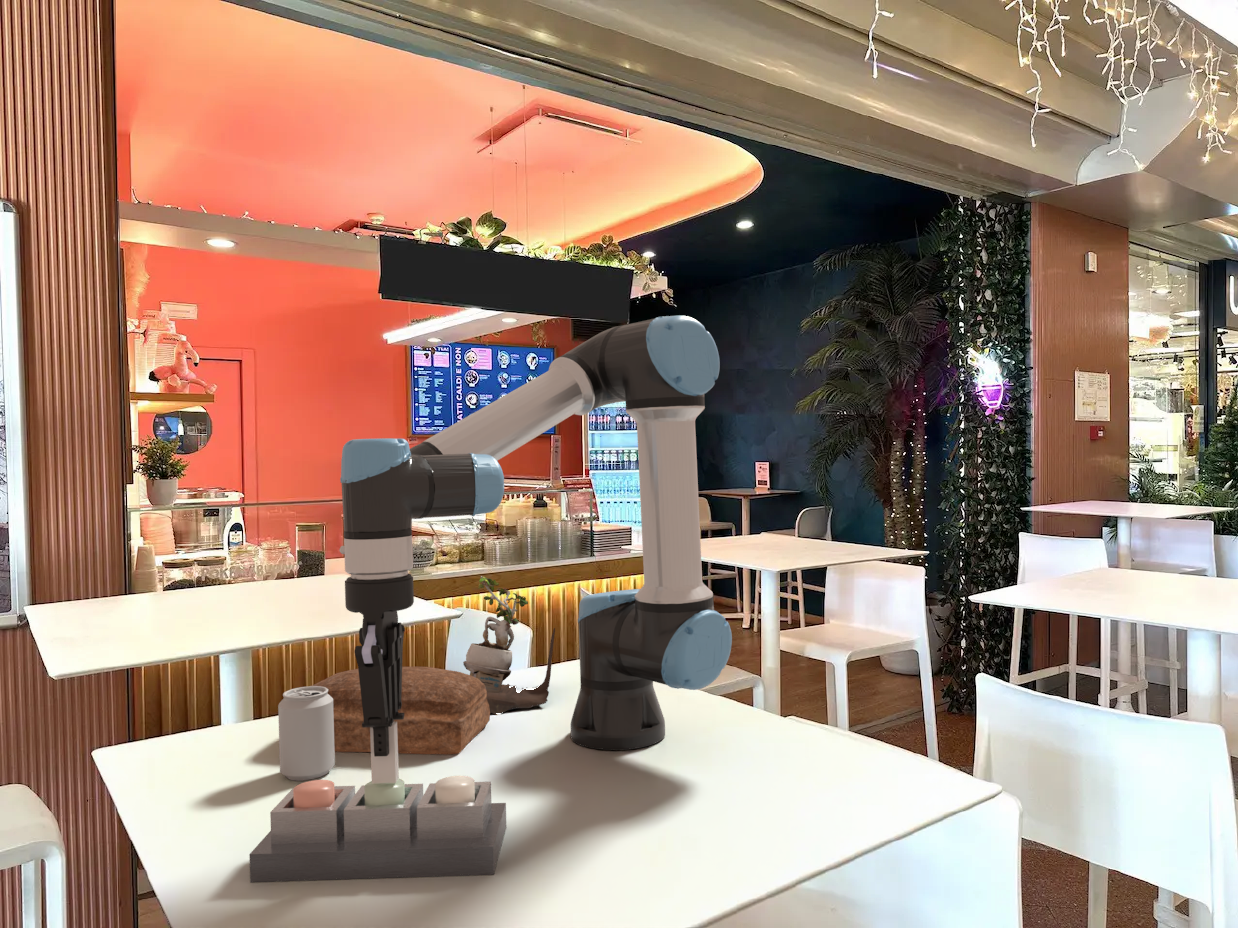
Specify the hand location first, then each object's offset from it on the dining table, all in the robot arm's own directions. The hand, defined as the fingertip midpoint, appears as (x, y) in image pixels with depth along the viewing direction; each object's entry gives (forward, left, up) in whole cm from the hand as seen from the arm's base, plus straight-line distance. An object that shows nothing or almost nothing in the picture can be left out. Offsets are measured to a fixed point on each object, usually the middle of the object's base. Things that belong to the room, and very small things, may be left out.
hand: (385, 780), depth 100 cm
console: (0, 0, -8) cm, 8 cm away
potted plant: (-5, -64, -9) cm, 65 cm away
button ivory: (-8, 0, -5) cm, 9 cm away
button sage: (0, 0, -5) cm, 5 cm away
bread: (+10, -43, -9) cm, 45 cm away
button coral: (+8, 0, -5) cm, 9 cm away
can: (+18, -27, -9) cm, 34 cm away
